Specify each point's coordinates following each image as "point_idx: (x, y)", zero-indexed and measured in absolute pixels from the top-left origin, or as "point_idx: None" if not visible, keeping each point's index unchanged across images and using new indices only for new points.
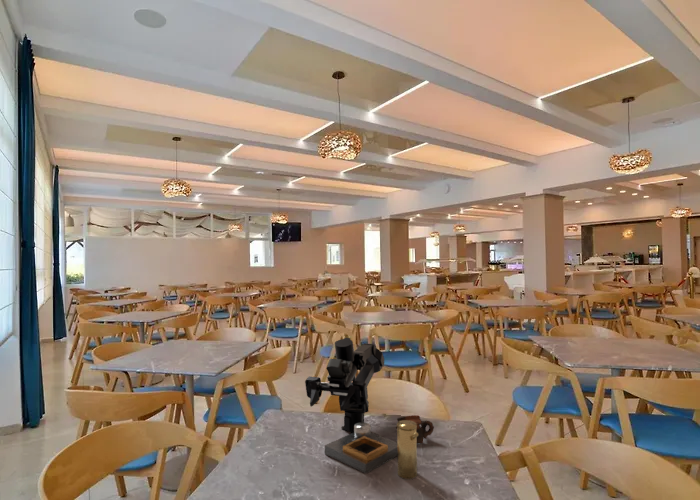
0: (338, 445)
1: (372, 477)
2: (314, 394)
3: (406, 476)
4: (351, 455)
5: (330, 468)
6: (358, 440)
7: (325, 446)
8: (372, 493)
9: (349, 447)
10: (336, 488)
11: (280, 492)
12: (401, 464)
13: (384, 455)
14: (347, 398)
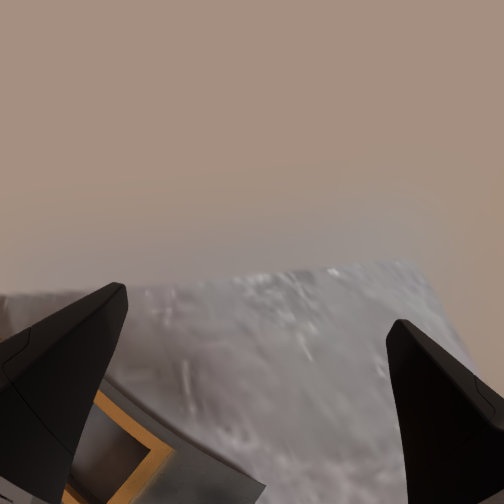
0: (206, 495)
1: None
2: (453, 380)
3: None
4: (136, 419)
5: (209, 397)
6: (114, 497)
7: (261, 483)
8: (90, 293)
9: (141, 436)
10: (172, 304)
11: (296, 276)
12: (2, 338)
13: None
14: (40, 328)
